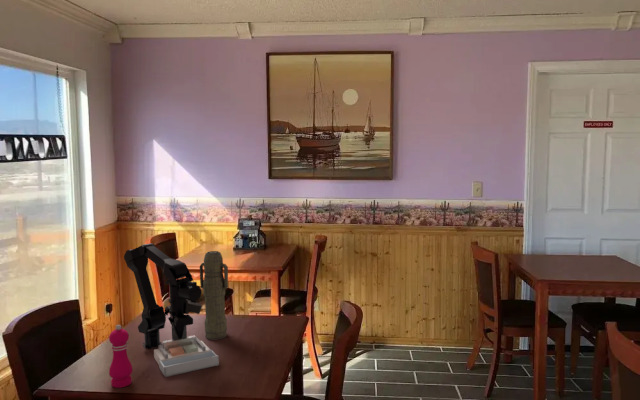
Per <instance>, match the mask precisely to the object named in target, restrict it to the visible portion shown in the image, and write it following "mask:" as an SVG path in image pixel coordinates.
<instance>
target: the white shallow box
mask: <svg viewBox="0 0 640 400" xmlns="http://www.w3.org/2000/svg"><path fill="white" fill-rule="evenodd" d="M196 346H197V348H198V351H195V352H191V353H185V352H184V354H181V355H176V356H171V355H170V353H169V350H166V351H165V349H164V348H163V344H162V345H158V347H157V349H156V348H155V349H153V358H154V359H155V361H156V363H157V364H158V365H159V360H161V361H166V360H171V359H176V358H181V357H186V356H190V355H195V354H200V353H205V352H210V351H211V349H210V347H209V346H207V344H206V343H204V341H203V340H200V339H199V338H198V337H196Z"/></svg>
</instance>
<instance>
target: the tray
mask: <svg viewBox="0 0 640 400" xmlns="http://www.w3.org/2000/svg"><path fill="white" fill-rule="evenodd" d="M219 365H220V357H219V355H217V354H216V353H215V351H214V350H213V349H210V352H205V353H200V354H195V355H190V356H186V357H181V358H176V359H171V360H166V361H161V360H159V364H158V367H159V370H160V372H161V373H162V375H163V377H164V378H167V377H171V376H177V375H180V374H185V373H189V372H195V371H199V370H203V369H208V368H212V367H218V366H219Z"/></svg>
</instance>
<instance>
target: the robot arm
mask: <svg viewBox="0 0 640 400" xmlns="http://www.w3.org/2000/svg"><path fill="white" fill-rule="evenodd" d="M123 259H124V262H125V263H126V267H127V268H128V269H129V270H130V271H131V272H133V275H134V278H135V282H136V286H137V288H138V289H137V290H138V293H139V296H140V300H141V302H142V306H143V309H142V313H141V322H140V324H139V325H138V326H137V329H138V332H139V333H141V334H144V335H143V337H144V342H142V346H143V348H144V349H145V350H149V349H154V348H155V349H156V348H158V345H162V346H163V342H161V338H160V337H161V336H160V330H163V329H165V325H166V320H167V319H168V321H169V323H170V325H171V327H172V326H173V327H174V329H175V331H176V334H177V336H178V338H179V339H181V338H182V336H183V331H184V328H185V326H186V327H187V326H190V325H193V324H194V318H193V317H192V316H191V315H190V314H189V313H194V314H196V315H200V314H201V310H202V304H200V303H199V302H198V301H199V300H200V298H201V296H202V292H203V289H202V288H201V286H199V285H198V283H197V281H194V277H193V275H192V274H191V273H190V272H191V271H190V270H189V268H188V266H187V264H186V263H185V262H184V261H181V260H179V259H175V258H171V257H170V256H168V254H166V253H164V252H163V251H161V249H159V248H157V247H156V246H155V244H154V243H151V242H150V243H146V244H145V243H143V244H141V245H139V246H138V247H136V248H133V249H128V250H126V251H125V253H124V255H123ZM149 260H150V261H151V262H152V263H154V264H155V265H156V266H158V267H159V268H160V269H161V270H162V274H163V275H164V276H165V278H166V279H167V280H166V281H165V284H166V285H168V286H169V287H168V288H169V289H168V290H169V292H168V293H169V298H168V303H169V305H167V306H166V307H165V308H164V306H163V305H161V306H160V305H159V304H158V303H157V300H156V298H155V294H154V291H153V287H152V283H151V280H150V279H151V278H150V276H149V272H148V269H147V267H148V263H149ZM168 315H169V317H167V316H168Z"/></svg>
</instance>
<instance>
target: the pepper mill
mask: <svg viewBox="0 0 640 400" xmlns="http://www.w3.org/2000/svg"><path fill="white" fill-rule="evenodd" d="M129 336H130V335H129V332H128V331H127V330H126V329H124V328H122V325H121V324H116V325H115V329H114V330H112V331H111V332H110V334H109V336H108V340H109V342H110V344H111V345H110V346H111V348H110V349H111V350H112V361H111V363H110V365H109V370H108V371H109V372H108V373H109V377H111V380H110V381H111V386H112V388H117V389H119V388H125V387H127V386H130V385H131V384H132V383H133V382H132V381H133V379H132V376H131V375H132V373H133V372H134V371H133V365H132V363H131V360H130V359H129V357H128V354H127V349H128V343H129V342H128V340H129V338H130V337H129Z"/></svg>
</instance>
